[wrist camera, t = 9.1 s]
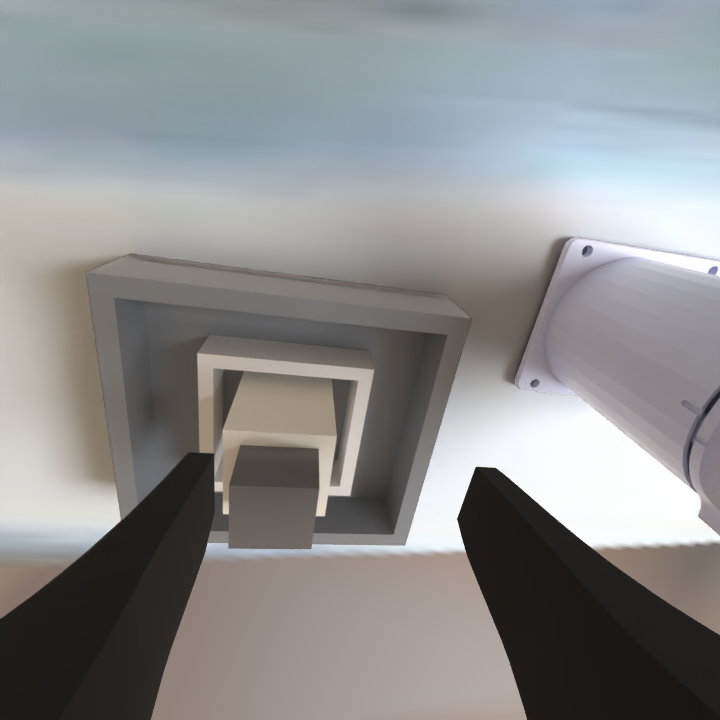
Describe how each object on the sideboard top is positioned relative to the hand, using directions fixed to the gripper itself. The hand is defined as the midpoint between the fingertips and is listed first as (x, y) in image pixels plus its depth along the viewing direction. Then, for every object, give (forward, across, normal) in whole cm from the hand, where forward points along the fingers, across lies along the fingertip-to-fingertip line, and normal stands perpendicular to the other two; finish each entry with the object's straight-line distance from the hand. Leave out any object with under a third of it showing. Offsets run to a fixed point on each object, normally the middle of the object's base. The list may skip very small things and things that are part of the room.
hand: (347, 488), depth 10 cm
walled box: (+9, +2, +3) cm, 10 cm away
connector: (+8, +2, +3) cm, 9 cm away
